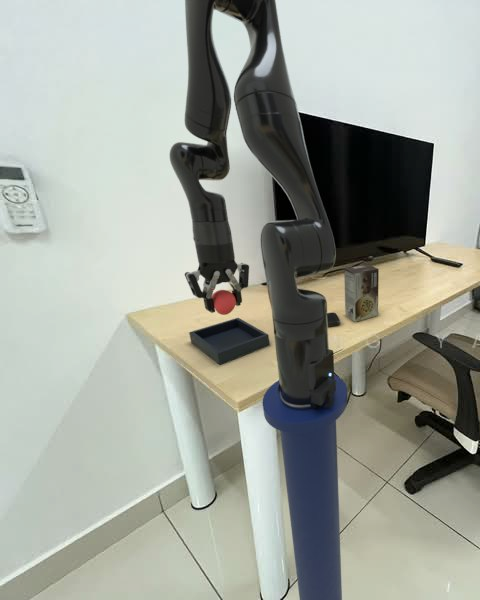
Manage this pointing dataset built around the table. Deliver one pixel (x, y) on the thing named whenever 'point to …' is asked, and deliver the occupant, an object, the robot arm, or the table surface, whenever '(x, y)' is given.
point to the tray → (229, 340)
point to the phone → (333, 319)
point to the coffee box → (361, 292)
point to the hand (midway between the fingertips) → (225, 307)
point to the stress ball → (224, 301)
